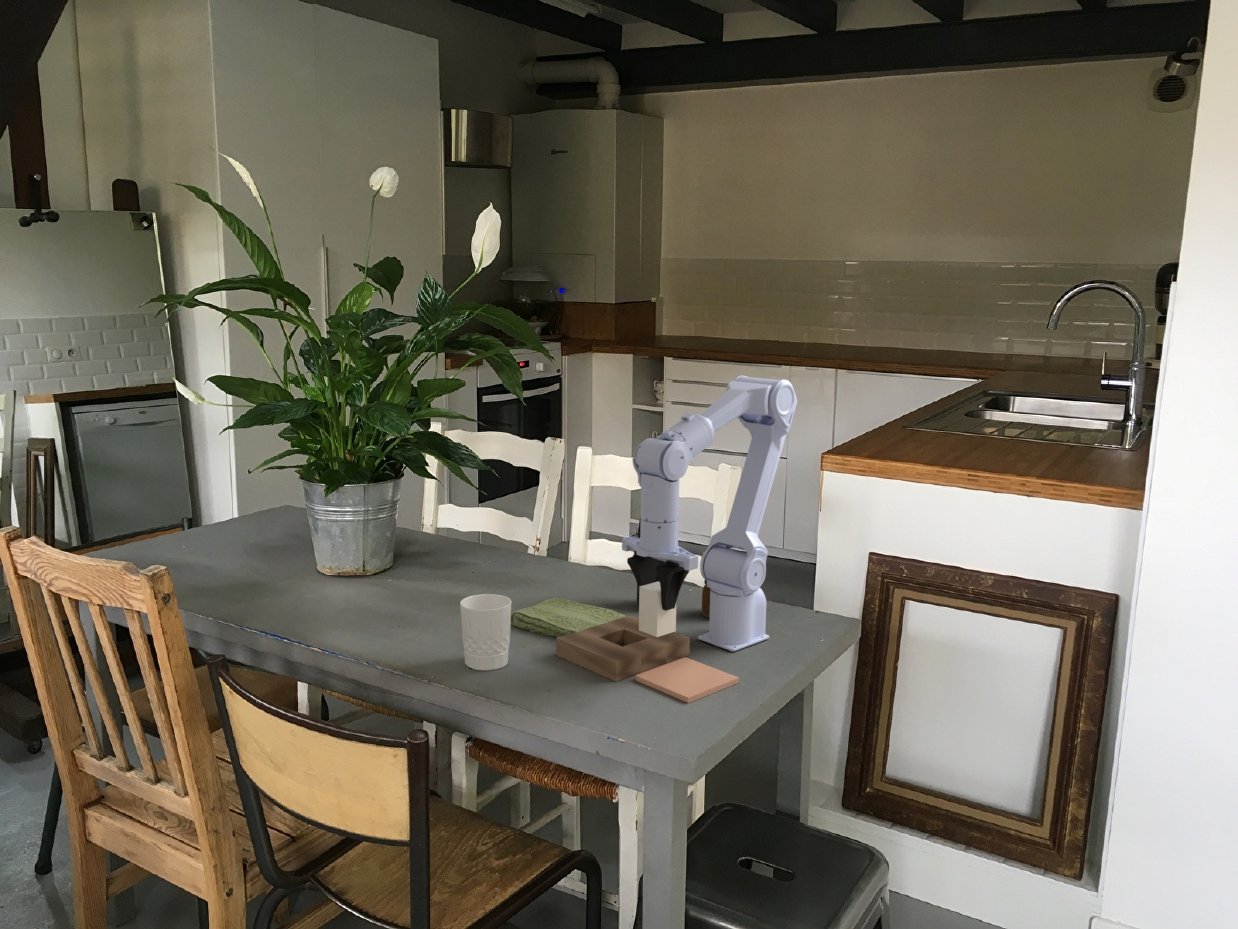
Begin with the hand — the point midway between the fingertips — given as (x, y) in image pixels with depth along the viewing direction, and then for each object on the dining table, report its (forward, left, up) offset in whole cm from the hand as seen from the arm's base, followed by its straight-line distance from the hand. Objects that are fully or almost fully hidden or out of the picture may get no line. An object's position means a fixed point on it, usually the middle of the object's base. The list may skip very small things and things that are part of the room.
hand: (658, 605), depth 158 cm
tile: (0, +6, -10) cm, 12 cm away
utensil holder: (-26, -11, -11) cm, 30 cm away
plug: (0, 0, -4) cm, 4 cm away
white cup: (+18, -20, -11) cm, 29 cm away
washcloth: (-3, -24, -11) cm, 27 cm away
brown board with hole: (0, -8, -10) cm, 13 cm away
